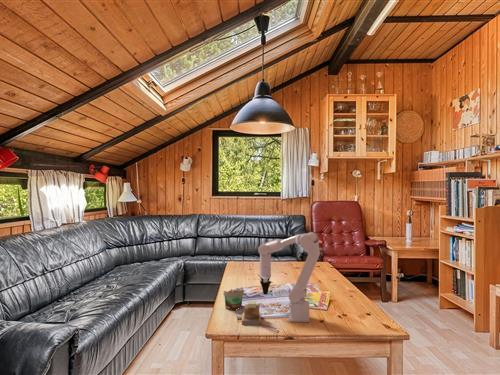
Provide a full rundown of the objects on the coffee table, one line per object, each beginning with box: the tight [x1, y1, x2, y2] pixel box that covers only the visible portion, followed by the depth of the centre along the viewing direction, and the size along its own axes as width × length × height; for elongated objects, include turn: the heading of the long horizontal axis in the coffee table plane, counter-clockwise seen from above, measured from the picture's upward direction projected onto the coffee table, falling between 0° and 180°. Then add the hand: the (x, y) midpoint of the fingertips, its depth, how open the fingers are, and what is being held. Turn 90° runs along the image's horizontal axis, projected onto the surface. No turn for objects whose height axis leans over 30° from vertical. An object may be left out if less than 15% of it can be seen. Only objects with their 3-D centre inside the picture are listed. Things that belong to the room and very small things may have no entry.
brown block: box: [244, 303, 260, 319], centre depth 161 cm, size 7×5×5 cm
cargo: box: [247, 300, 257, 308], centre depth 161 cm, size 4×4×2 cm
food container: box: [223, 286, 245, 311], centre depth 176 cm, size 12×6×10 cm, turn 126°
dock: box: [241, 311, 262, 326], centre depth 161 cm, size 9×10×2 cm
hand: (265, 291), depth 173 cm, fingers open, 7 cm apart
